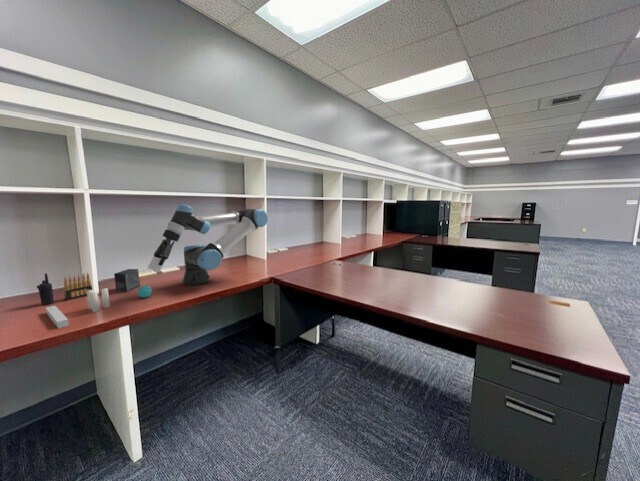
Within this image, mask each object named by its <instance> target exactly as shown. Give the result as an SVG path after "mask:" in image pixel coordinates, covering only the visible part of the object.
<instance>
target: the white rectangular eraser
mask: <svg viewBox="0 0 640 481" xmlns="http://www.w3.org/2000/svg"><path fill="white" fill-rule="evenodd" d="M45 314H46V315H47V316H48V317H49V319H50V320H51V321H52V322H53V324H54V325H55V326H56V328H57V329H61V328H64V327H68V326H69V318H67V317H66V316H65V314H64V313H63V312H62V311H61V310H60V309H59V308H58V307H57V305H52V306H47V307H45Z"/></svg>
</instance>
